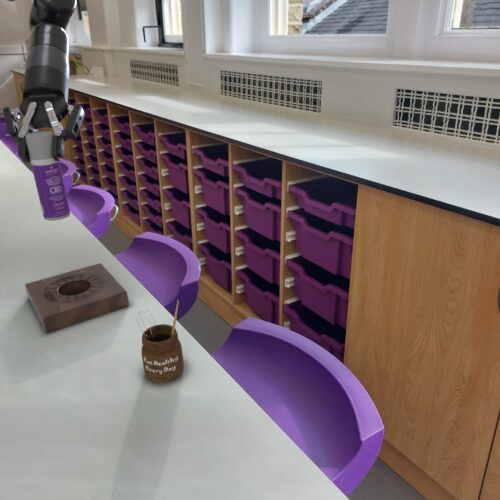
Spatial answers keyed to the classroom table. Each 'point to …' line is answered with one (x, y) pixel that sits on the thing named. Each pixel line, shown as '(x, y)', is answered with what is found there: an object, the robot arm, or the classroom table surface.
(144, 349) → the utensil holder
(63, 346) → the classroom table surface
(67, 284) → the socket plate
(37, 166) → the container
